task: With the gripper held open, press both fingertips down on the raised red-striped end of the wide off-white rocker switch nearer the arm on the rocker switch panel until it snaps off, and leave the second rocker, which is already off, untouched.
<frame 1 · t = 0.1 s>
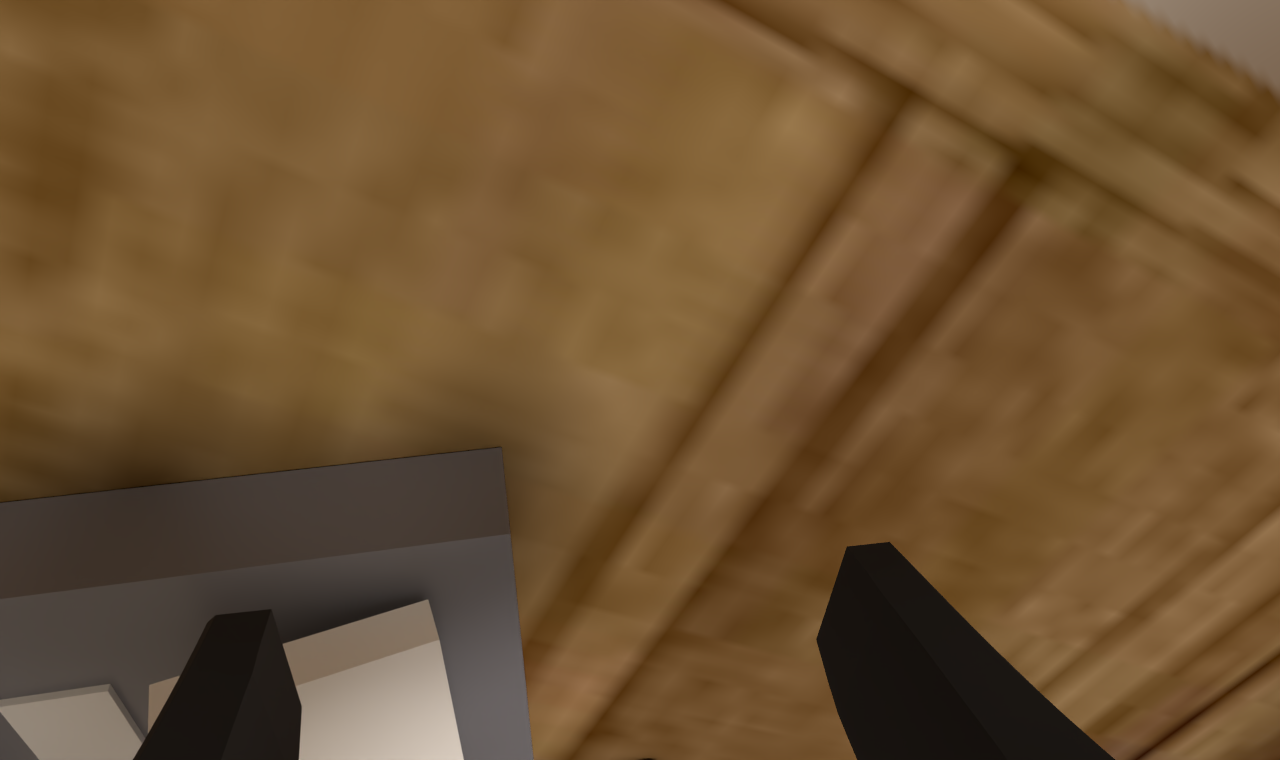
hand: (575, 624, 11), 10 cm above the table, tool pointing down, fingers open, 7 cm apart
rocker switch panel: (132, 656, 24), on the table
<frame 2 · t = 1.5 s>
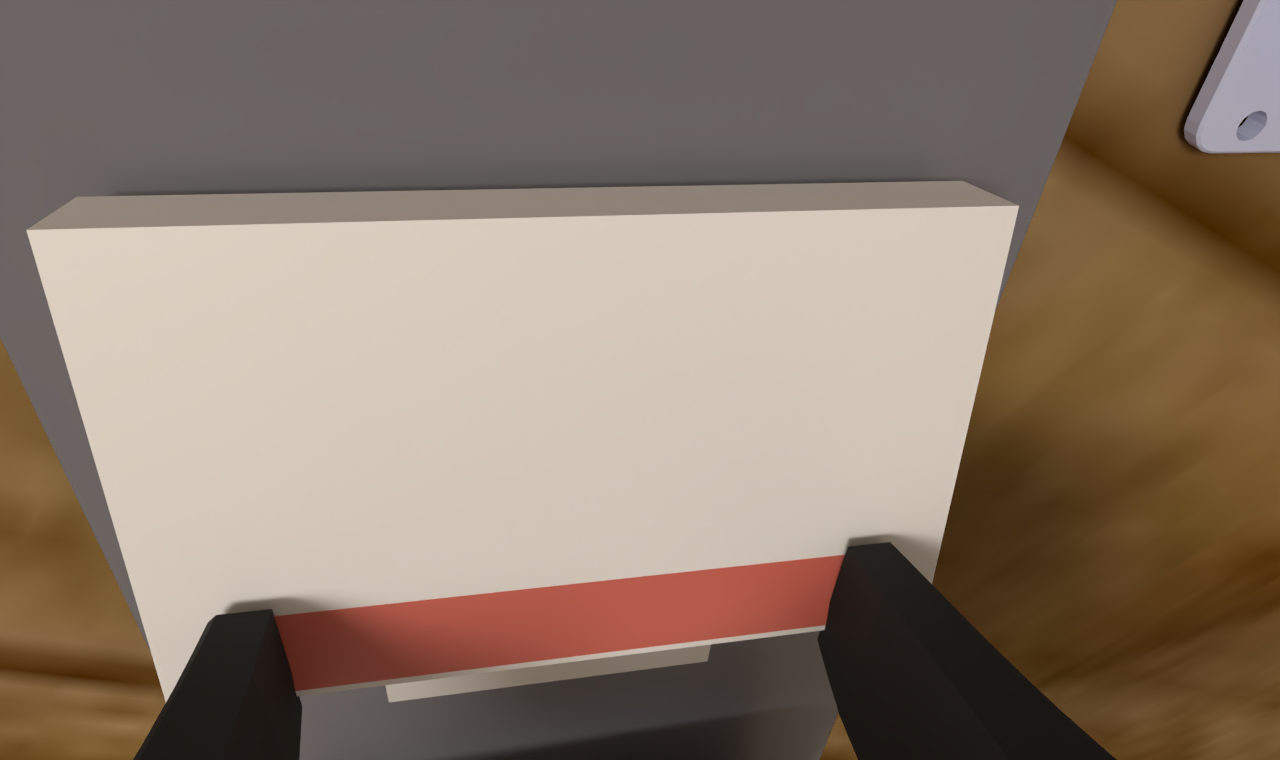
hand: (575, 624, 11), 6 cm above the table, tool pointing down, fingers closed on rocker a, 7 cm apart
rocker a: (571, 442, 10), point 5 cm above the table, hinge at 12.0°, touching gripper
rocker switch panel: (537, 512, 18), on the table
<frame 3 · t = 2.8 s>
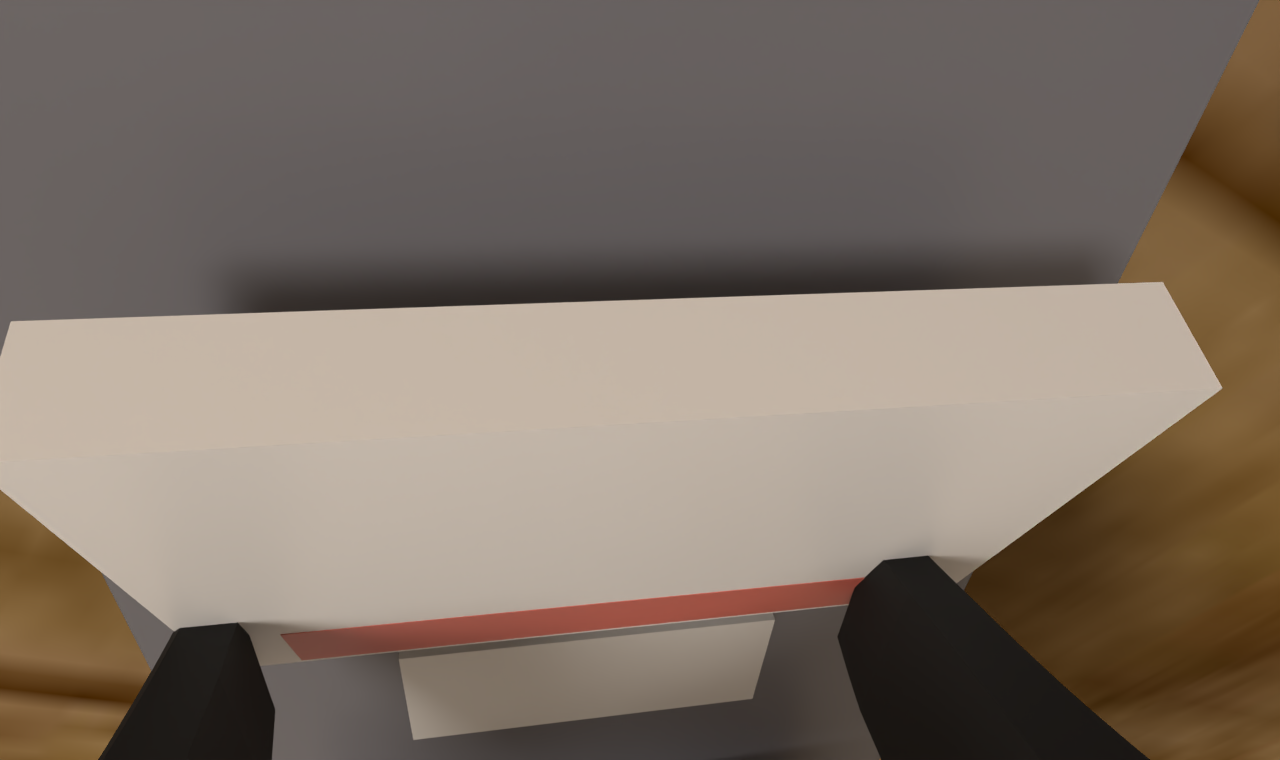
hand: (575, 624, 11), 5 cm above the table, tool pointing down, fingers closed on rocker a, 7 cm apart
rocker a: (626, 503, 10), point 5 cm above the table, hinge at -19.4°, touching gripper
rocker switch panel: (570, 534, 17), on the table
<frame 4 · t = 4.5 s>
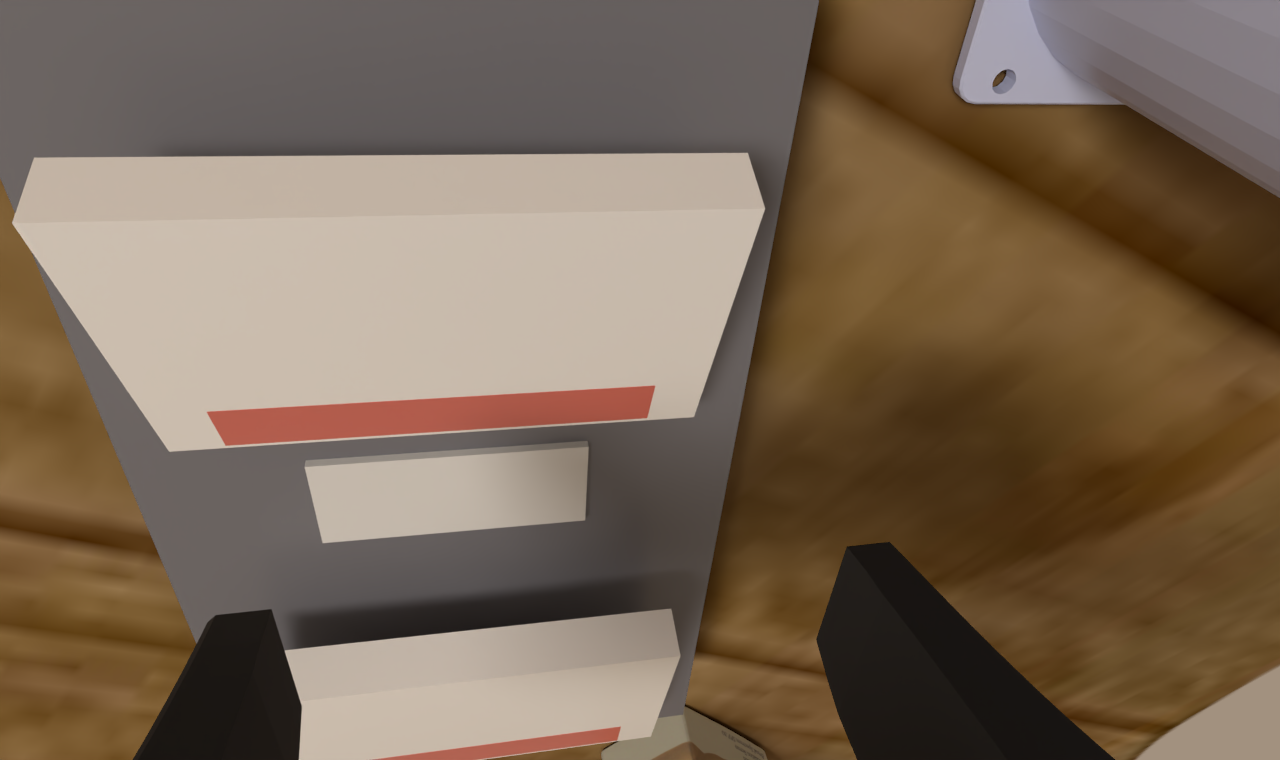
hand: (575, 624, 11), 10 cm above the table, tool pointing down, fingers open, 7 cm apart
rocker b: (470, 701, 22), point 5 cm above the table, hinge at -12.0°
skincare box: (681, 743, 35), on the table
rocker a: (434, 314, 15), point 5 cm above the table, hinge at -18.1°
rocker switch panel: (452, 404, 22), on the table
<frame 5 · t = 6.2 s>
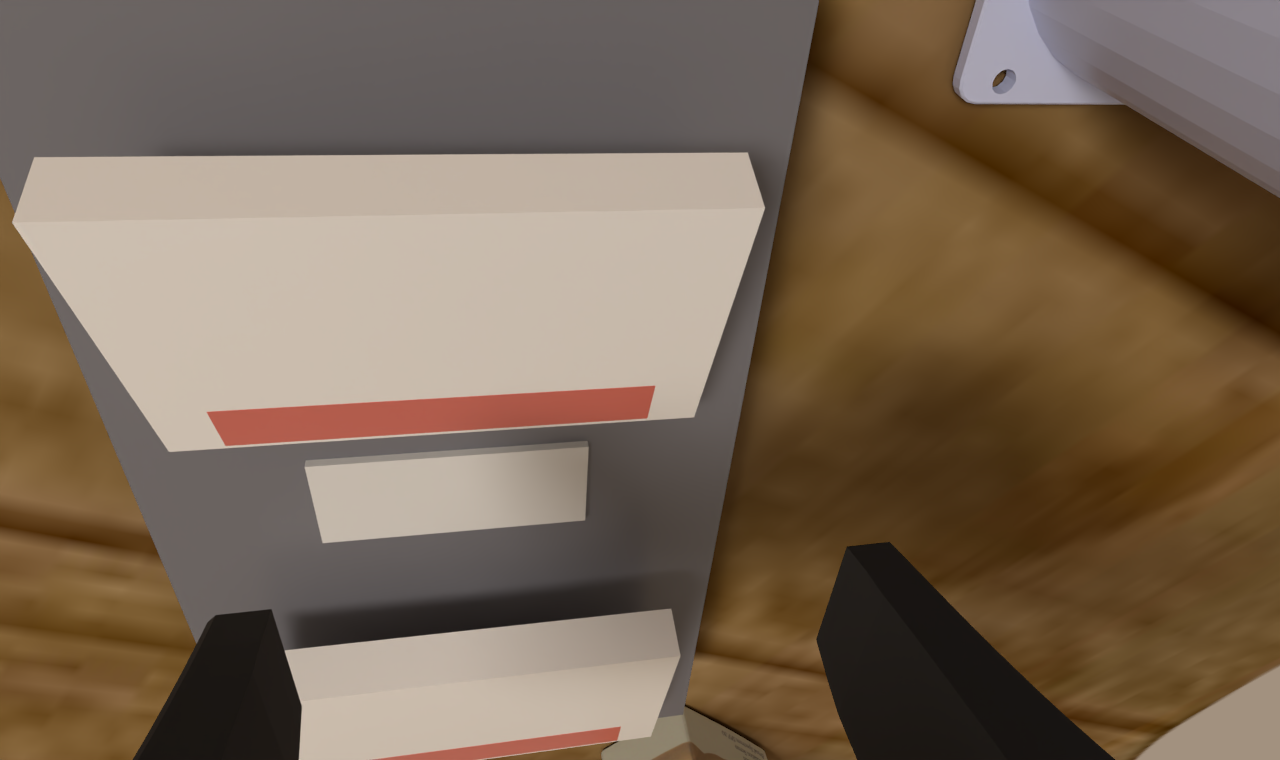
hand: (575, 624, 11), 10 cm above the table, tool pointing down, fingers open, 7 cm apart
rocker b: (470, 701, 22), point 5 cm above the table, hinge at -12.0°
skincare box: (681, 743, 35), on the table
rocker a: (434, 314, 15), point 5 cm above the table, hinge at -18.0°
rocker switch panel: (452, 404, 22), on the table
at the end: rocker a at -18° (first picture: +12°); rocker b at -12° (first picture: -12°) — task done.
